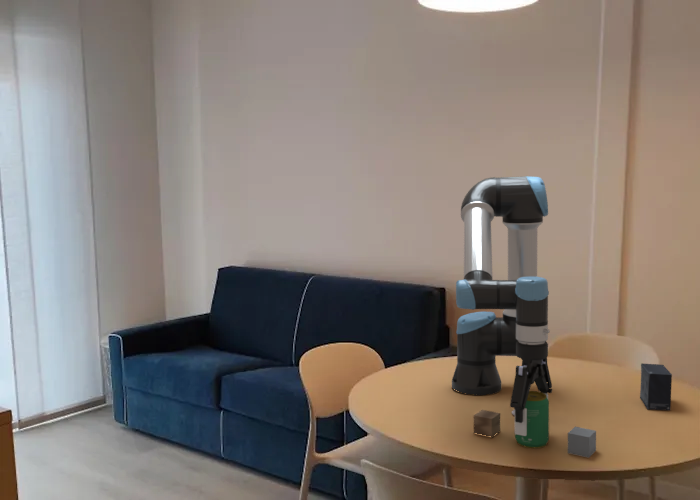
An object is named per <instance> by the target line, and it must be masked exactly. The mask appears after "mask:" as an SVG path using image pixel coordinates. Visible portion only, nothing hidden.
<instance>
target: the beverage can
mask: <svg viewBox="0 0 700 500" xmlns="http://www.w3.org/2000/svg"><path fill="white" fill-rule="evenodd" d="M549 407H550V401H549V398H548V399H547V397H546V395H545V394H544V393H541V392H540V391H535V390H530V391H529V394H528V398H527V401H526V405H525V408H527V435H526V436H522V435H517V434H515V433H514V438H515V440H516V442H517V444H518V445H519V444H520V445H519V446H521V447H523V446H524V448H528V449H540V448H544V447H547V443H548V442H549V438H550V436H549V435H550V433H549V430H550V423H549V422H550V421H549V420H550V417H549V415H550V414H549V413H550V409H549Z"/></svg>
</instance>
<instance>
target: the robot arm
mask: <svg viewBox="0 0 700 500" xmlns="http://www.w3.org/2000/svg"><path fill="white" fill-rule="evenodd" d="M546 189H547V188H546V186H545V182H544V180H543V178H541V177H540V176H530V175H529V176H527V175H526V176H510V177H509V176H505V177H504V176H503V177H502V176H501V177H496V176H494V177H491V176H490V177H487V178H484V179H481V180H480V181H478V182H477V183H476V184H474V185H472V187H471V188H470V189H469V190H468V191H467V193H466V195H465V196H464V198H463V199H462V202H461V206H460V218H461V220H462V221H463V279H458V280H457V281H456V283H455V301H456V307H457V308H458V309H461V310H463V309H465V310H503V311H502V317H499V316H498V317H497V315H496V314H495V312H493V311H475V312H470V313H467V314H464V315H461V316H459V317H458V319H457V321H456V322H457V323H456V337H457V338H456V340H457V341H456V343H457V344H456V347H457V348H456V351H457V352H456V355H457V356H456V360H457V361H456V363H457V364H456V366H455V369H454V372H453V376H452V379H451V388H453V389H455V390H457V391H459V392H462V393H461V394H463V393H466V394H465V395H468V394H474V395H473V396H487V395H486V394H489V395H493V393H494V394H497V393H499V392H501V390H502V379H501V376H500V374H499V371H498V367H497V365H496V362H497V361H496V356H498V357H499V356H501V357H502V356H503V357H517V358H519V359H521V365H515V375H514V382H513V387H512V392H511V397H510V402H509V408H513V409H514V410H515V416H514V435H515V434H517V435H522V436H526V435H527V408H525V405H526V401H527V398H528V394H529V391H531V386H532V385H533V384H534V383H535V386H536V388H537V390H538V391H537V392H541V393H544V394H545V395H546V397H547V399H548V400H549V394H552V393H553V383H552V378H551V375H550V371H549V365H548V355H549V343H548V342H547V341H548V339H549V338H548V337H549V336H548V335H549V333H550V331H551V330H550V329H549V327H548V326H549V323H548V322H549V321H548V317H549V313H548V312H549V294H550V293H549V292H550V291H549V285H548V284H549V282H548V280H547V279H546V278H545V277H541V276H538V229H539V227H540V226H541V225H542V224H543V222H544V219H543V218H544V217H547V216H548V214H549V203H548V195H547V190H546ZM495 217H499V218H500V217H501V218H502V224H503V225H504V226H505V227H506V228H507V279H493V254H492V253H493V252H492V251H493V249H492V247H493V246H492V222H493V220H494V219H495ZM453 389H452V390H453ZM455 390H454V391H455ZM459 392H458V393H459Z"/></svg>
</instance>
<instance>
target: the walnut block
mask: <svg viewBox="0 0 700 500" xmlns="http://www.w3.org/2000/svg"><path fill="white" fill-rule="evenodd" d="M499 431H500V432H501V413H500V412H496V411H491V410H486V409H481V410H480V411H478V412H476V413H475V414H473V434H474V433H477V434H482V435H486V436H491V437H492V436H494V435H495V434H496V433H498V432H499ZM500 432H499V433H500ZM499 433H498V434H499ZM496 435H497V434H496ZM496 435H495V436H496ZM495 436H494V437H495ZM492 438H493V437H492Z"/></svg>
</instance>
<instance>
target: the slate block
mask: <svg viewBox="0 0 700 500" xmlns="http://www.w3.org/2000/svg"><path fill="white" fill-rule="evenodd" d="M596 451H597V430H595V429H589V428H585V427H579V426H574V427H573V428H571V429H570V430H569V431H568V432H567V454H570V455H575V456H580V457H583V458H590V457H591V456H592V455H593V454H594V453H595V452H596Z"/></svg>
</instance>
